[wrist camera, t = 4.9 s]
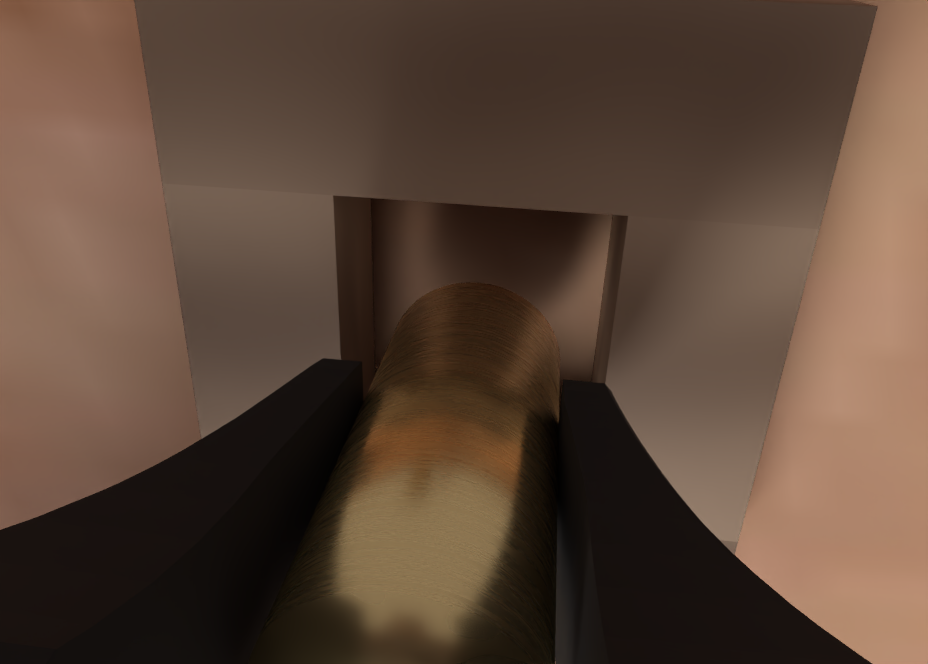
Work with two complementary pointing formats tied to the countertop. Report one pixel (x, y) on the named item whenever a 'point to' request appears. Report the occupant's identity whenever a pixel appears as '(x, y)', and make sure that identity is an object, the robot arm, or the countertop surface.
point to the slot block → (510, 184)
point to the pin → (437, 501)
